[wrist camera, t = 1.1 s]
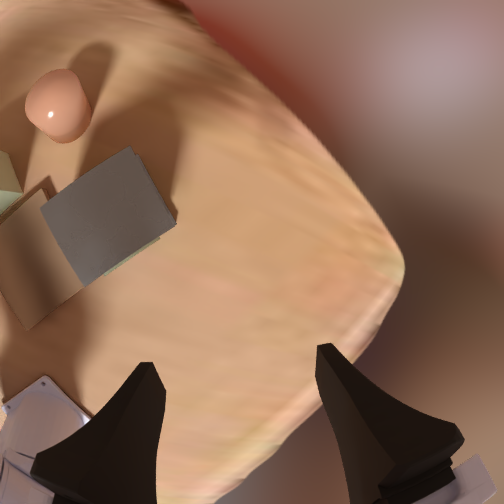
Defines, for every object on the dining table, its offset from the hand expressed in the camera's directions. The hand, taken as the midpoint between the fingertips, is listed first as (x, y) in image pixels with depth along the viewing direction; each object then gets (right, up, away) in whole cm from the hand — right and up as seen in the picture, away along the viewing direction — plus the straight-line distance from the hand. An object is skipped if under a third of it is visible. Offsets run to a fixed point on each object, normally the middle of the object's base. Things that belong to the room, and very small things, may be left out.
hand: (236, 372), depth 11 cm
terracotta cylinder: (-13, +15, +4) cm, 21 cm away
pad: (-16, +5, +5) cm, 17 cm away
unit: (-9, +8, +7) cm, 14 cm away
